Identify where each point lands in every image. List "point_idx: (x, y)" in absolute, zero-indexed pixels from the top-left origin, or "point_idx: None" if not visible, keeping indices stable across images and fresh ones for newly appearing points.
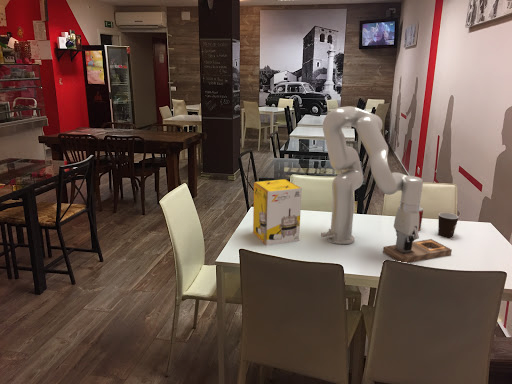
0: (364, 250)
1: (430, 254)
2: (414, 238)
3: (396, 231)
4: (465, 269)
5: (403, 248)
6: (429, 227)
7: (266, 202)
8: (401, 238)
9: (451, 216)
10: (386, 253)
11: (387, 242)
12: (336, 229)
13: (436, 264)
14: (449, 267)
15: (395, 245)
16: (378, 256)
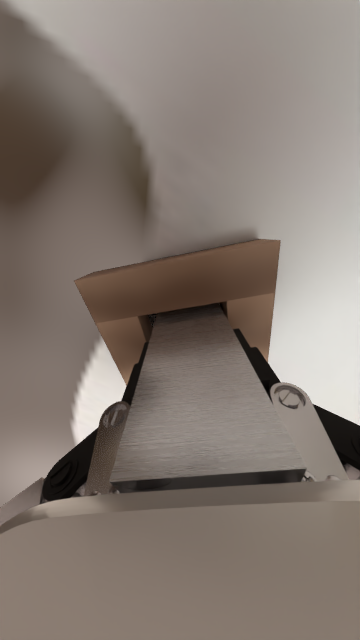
0: (356, 67)
1: None
2: (20, 504)
3: (349, 429)
4: (77, 437)
5: (151, 340)
6: None
7: None
8: (181, 393)
9: None
10: (226, 246)
11: (345, 326)
12: None
13: (103, 396)
14: (84, 415)
15: (262, 331)
16: (210, 162)
